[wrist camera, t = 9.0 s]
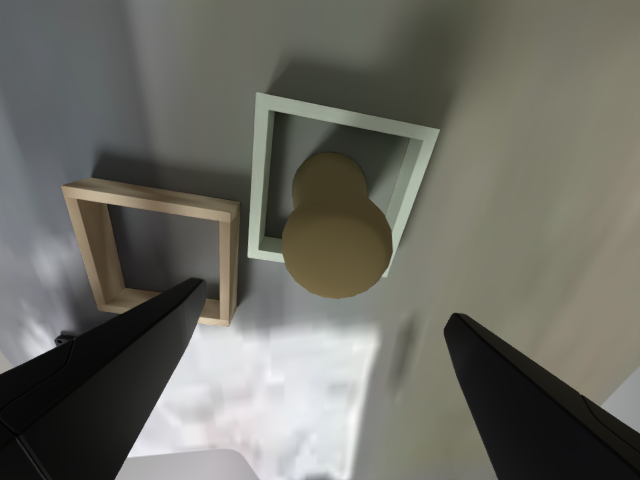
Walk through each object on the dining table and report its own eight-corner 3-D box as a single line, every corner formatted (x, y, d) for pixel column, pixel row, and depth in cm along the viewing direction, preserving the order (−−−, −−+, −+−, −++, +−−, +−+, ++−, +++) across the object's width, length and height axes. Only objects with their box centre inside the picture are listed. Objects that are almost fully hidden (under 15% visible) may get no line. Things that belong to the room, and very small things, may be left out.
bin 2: (254, 242, 22) (247, 257, 20) (264, 95, 17) (256, 92, 15) (379, 261, 23) (386, 277, 21) (425, 127, 18) (440, 129, 16)
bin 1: (118, 293, 25) (98, 310, 22) (90, 177, 19) (60, 185, 17) (236, 308, 26) (228, 326, 23) (240, 202, 20) (230, 212, 18)
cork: (288, 153, 19) (255, 196, 9) (368, 150, 19) (424, 191, 9) (294, 226, 21) (274, 320, 12) (364, 224, 21) (403, 317, 12)
